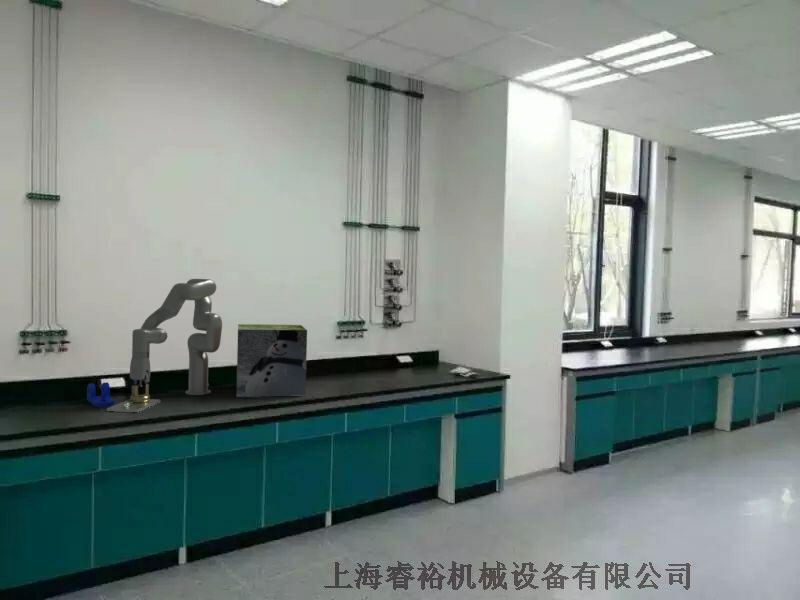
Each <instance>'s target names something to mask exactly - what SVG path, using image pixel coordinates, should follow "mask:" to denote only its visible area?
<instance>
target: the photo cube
mask: <svg viewBox="0 0 800 600" xmlns="http://www.w3.org/2000/svg"><path fill="white" fill-rule="evenodd" d="M237 325H238V326H237V348H236V349H237V352H236V353H237V355H236V358H237V359H236V361H237V362H236V397H251V396H252V398H254V397H253V396H290V395H291V396H292V395H305V396H306V393H307V392H306V391H307V389H306V387H307V385H306V384H307V351H308V349H307V348H308V347H307V346H308V330H307V329H306V328H305V327H304V326H302V324H261V323H260V324H259V323H258V324H256V323H255V324H251V323H249V324H247V323H246V324H245V323H241V324H240V323H238V324H237Z"/></svg>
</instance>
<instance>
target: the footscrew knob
mask: <svg viewBox="0 0 800 600" xmlns="http://www.w3.org/2000/svg"><path fill="white" fill-rule="evenodd" d="M139 386H140V384H139V385H131V395H130V400H129V399H126V401H127V402H130V401H132V402H133V403H142V402H148V401H150V399H151V395H150V394H149V389H150V387H149V386H150V384H149V383H147V386H146V394H144V395H139Z"/></svg>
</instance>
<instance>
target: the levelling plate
mask: <svg viewBox="0 0 800 600" xmlns="http://www.w3.org/2000/svg"><path fill="white" fill-rule="evenodd" d="M128 400H130V399H128ZM157 403H159V404H160V403H161V399H154V398H152V399H151V398H150V401H148V402H142V403H133V402H132V401H130V402H127V400H124V401H122V402H119V403H117V404H114V405H113V406H110V407H106V412H109V411H114V413H132V412H138V413H140V412H143V411H144V409H145V410H146V408H147V409H149V408H151V407H150V406H152V407H153V405H154V406H156V405H158V404H157ZM155 404H156V405H155ZM148 407H149V408H148ZM142 410H143V411H142ZM139 411H140V412H139Z"/></svg>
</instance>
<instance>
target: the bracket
mask: <svg viewBox="0 0 800 600" xmlns="http://www.w3.org/2000/svg"><path fill="white" fill-rule="evenodd" d="M100 386H101V387H100V388H101V389H100V391H101V392H100V393H101V394H100V395H99V396H98V395H96V393H97V392H96V390H97V389H96V384H95V383H88V385H87V389H86V401H87V400H88V401H89V402H90V403H92V404H93V405H94V406H93V405H92V404H91V405H92V406H93V407H95V406H97V407H96V408H109V407H108V406H110V407H111V406H114V405H115V400H114V399H112V398H111V387H110V383H109V382H102V383H101V385H100ZM89 402H88V403H89ZM90 403H89V404H90Z"/></svg>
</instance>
